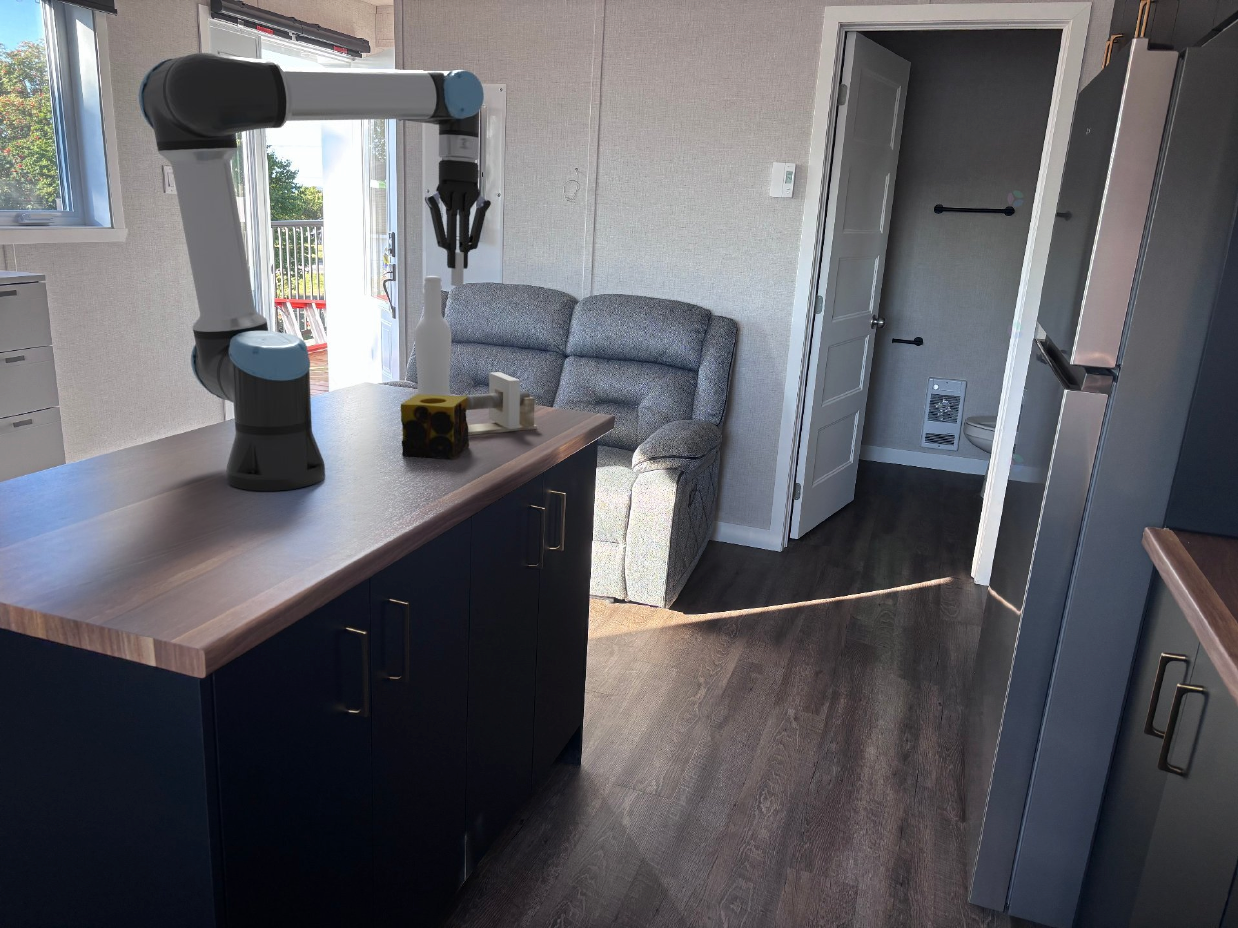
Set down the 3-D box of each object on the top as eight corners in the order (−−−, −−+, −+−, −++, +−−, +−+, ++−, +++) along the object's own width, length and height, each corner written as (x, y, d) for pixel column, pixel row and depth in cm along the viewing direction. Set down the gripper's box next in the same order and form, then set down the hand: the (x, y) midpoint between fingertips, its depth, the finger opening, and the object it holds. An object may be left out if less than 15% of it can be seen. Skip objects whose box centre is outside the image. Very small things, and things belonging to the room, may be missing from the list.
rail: (451, 436, 184) (451, 398, 182) (441, 430, 189) (440, 393, 187) (537, 428, 194) (537, 392, 191) (524, 422, 198) (525, 387, 196)
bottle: (413, 410, 206) (411, 274, 198) (449, 409, 208) (449, 275, 200) (417, 418, 198) (414, 277, 190) (454, 417, 201) (454, 278, 193)
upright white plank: (508, 429, 188) (509, 380, 185) (488, 419, 196) (489, 372, 193) (519, 428, 189) (519, 380, 186) (499, 418, 197) (499, 372, 195)
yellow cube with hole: (469, 447, 176) (469, 396, 174) (455, 460, 167) (455, 406, 164) (417, 444, 177) (417, 393, 175) (400, 456, 168) (399, 403, 165)
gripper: (432, 157, 169) (431, 286, 175) (498, 163, 176) (495, 287, 182) (419, 158, 176) (419, 283, 181) (483, 164, 182) (481, 284, 188)
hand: (457, 285), depth 182 cm, fingers closed
